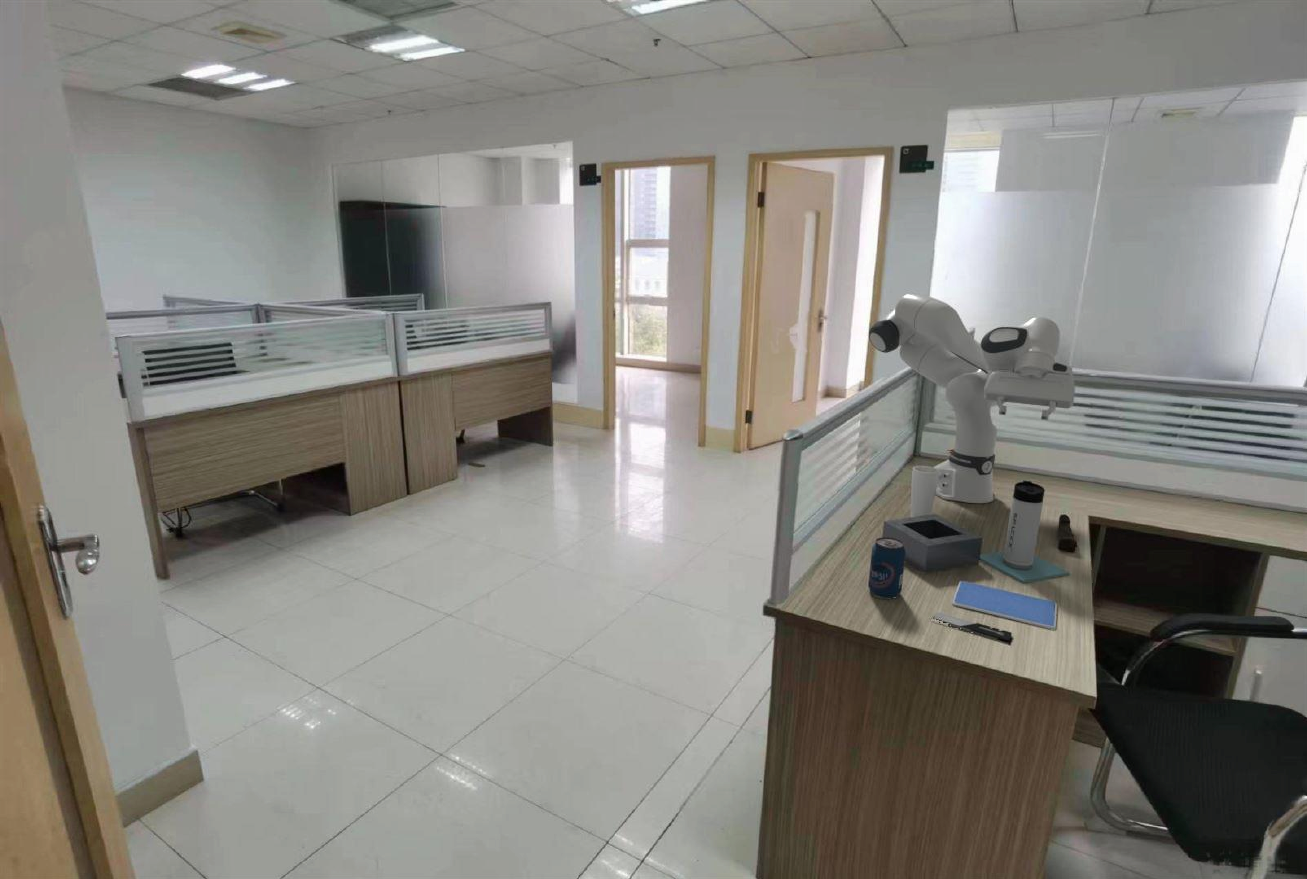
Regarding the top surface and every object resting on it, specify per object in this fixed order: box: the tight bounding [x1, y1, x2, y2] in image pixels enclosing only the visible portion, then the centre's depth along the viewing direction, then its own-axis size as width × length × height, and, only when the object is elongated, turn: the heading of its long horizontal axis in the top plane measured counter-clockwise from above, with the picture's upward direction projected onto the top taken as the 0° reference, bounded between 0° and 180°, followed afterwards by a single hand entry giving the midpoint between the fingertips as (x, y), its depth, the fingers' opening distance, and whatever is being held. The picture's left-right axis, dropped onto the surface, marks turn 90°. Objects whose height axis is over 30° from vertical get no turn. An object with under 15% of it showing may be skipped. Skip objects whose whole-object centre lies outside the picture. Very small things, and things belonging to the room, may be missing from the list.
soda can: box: [868, 537, 906, 599], centre depth 148 cm, size 7×7×12 cm
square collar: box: [881, 513, 983, 574], centre depth 168 cm, size 16×16×7 cm
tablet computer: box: [951, 580, 1058, 631], centre depth 145 cm, size 19×13×1 cm, turn 59°
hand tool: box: [1057, 513, 1078, 554], centre depth 179 cm, size 19×4×5 cm, turn 151°
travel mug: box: [1003, 480, 1046, 570], centre depth 160 cm, size 6×7×20 cm
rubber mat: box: [979, 550, 1070, 584], centre depth 163 cm, size 14×14×1 cm
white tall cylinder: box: [909, 465, 939, 518], centre depth 190 cm, size 7×7×15 cm
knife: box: [930, 612, 1014, 646], centre depth 136 cm, size 15×1×4 cm
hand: (1023, 415), depth 170 cm, fingers open, 8 cm apart
